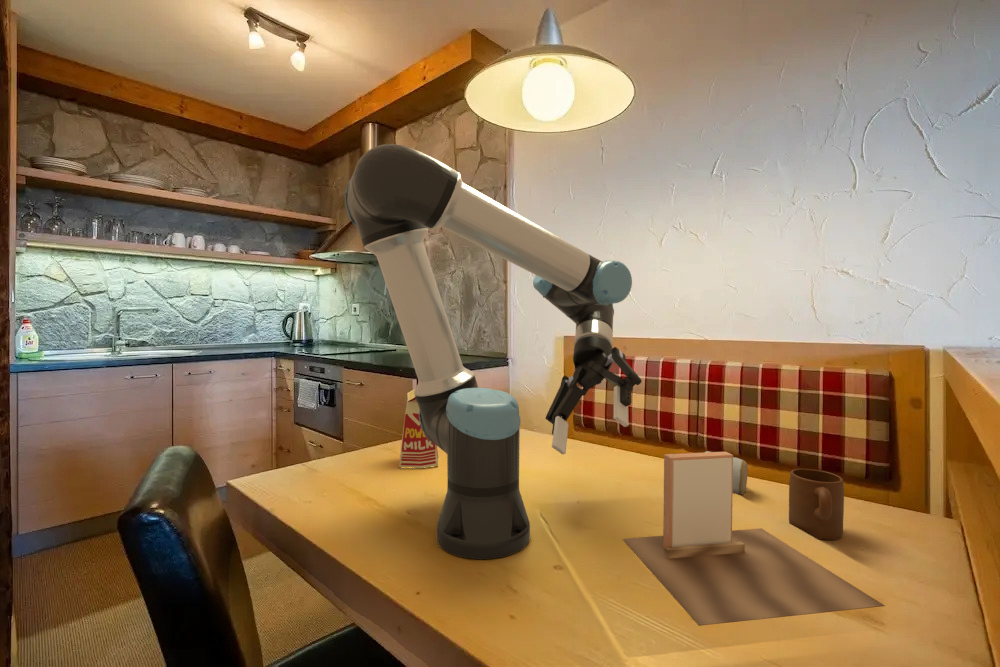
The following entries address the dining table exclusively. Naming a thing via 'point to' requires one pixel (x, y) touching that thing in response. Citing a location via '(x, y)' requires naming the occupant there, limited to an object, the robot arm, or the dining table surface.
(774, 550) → the board
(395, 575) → the dining table surface
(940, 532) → the dining table surface
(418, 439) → the milk carton
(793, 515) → the mug
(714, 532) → the tile
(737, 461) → the ceramic mug
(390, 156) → the robot arm
